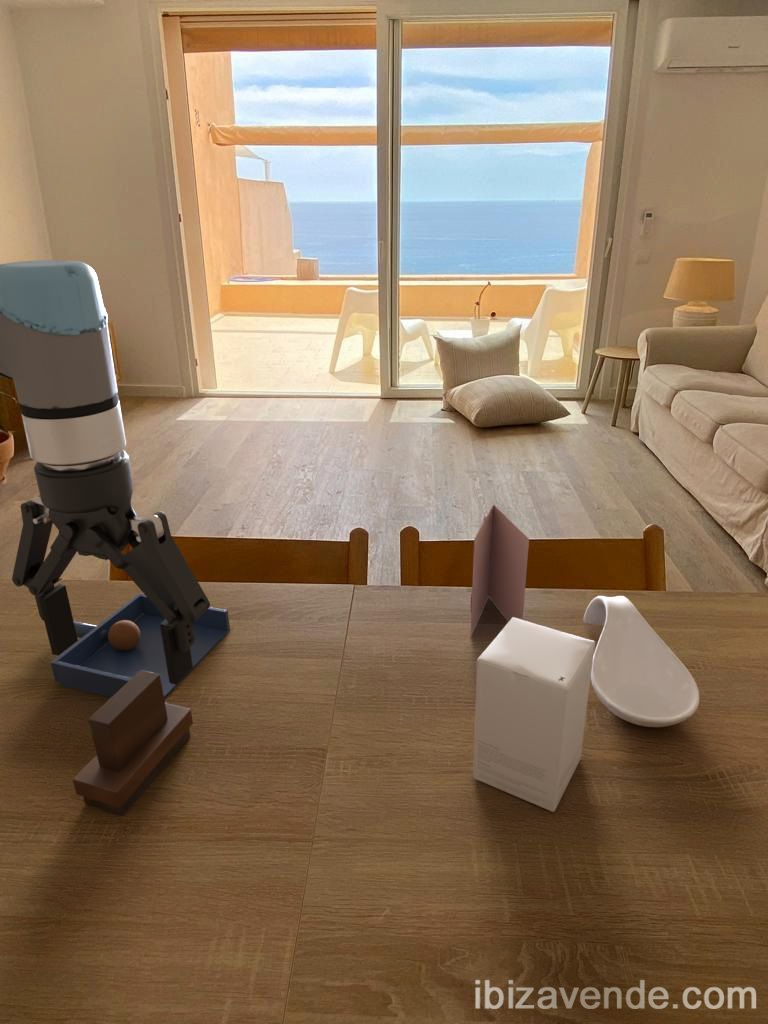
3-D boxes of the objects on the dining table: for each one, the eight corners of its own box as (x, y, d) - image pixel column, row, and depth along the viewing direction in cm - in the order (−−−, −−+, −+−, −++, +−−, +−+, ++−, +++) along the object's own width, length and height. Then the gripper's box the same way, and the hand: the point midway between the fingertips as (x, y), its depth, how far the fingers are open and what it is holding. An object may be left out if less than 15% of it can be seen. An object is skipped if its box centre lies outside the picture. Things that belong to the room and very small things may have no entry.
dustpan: (230, 630, 97) (227, 610, 95) (154, 708, 82) (150, 686, 80) (97, 603, 104) (93, 584, 102) (5, 671, 89) (-1, 650, 87)
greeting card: (482, 594, 104) (487, 503, 98) (532, 603, 102) (540, 510, 96) (464, 636, 95) (467, 537, 88) (518, 646, 92) (526, 545, 86)
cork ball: (104, 653, 91) (98, 627, 90) (125, 638, 95) (120, 612, 94) (128, 659, 90) (123, 631, 89) (148, 643, 93) (144, 617, 92)
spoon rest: (712, 744, 75) (724, 691, 72) (603, 745, 75) (611, 692, 72) (639, 622, 97) (646, 577, 94) (554, 623, 97) (559, 578, 94)
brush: (79, 806, 69) (59, 731, 65) (156, 724, 79) (142, 655, 75) (122, 820, 67) (104, 743, 63) (195, 734, 78) (183, 664, 74)
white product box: (583, 757, 74) (599, 639, 68) (554, 815, 67) (569, 690, 61) (504, 726, 78) (512, 613, 72) (469, 778, 71) (475, 658, 65)
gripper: (233, 457, 58) (254, 664, 67) (2, 428, 66) (48, 617, 74) (181, 490, 52) (212, 714, 61) (-69, 453, 59) (-9, 657, 68)
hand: (121, 661), depth 68 cm, fingers open, 13 cm apart
